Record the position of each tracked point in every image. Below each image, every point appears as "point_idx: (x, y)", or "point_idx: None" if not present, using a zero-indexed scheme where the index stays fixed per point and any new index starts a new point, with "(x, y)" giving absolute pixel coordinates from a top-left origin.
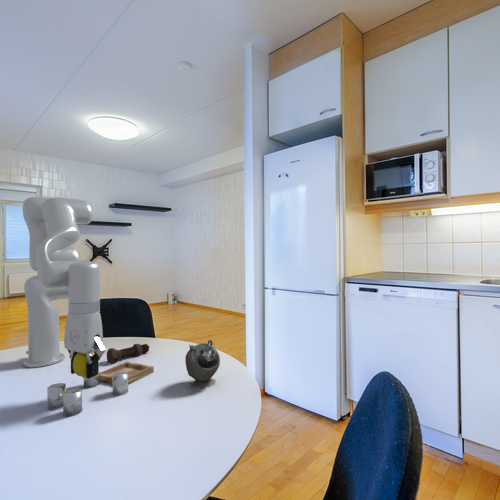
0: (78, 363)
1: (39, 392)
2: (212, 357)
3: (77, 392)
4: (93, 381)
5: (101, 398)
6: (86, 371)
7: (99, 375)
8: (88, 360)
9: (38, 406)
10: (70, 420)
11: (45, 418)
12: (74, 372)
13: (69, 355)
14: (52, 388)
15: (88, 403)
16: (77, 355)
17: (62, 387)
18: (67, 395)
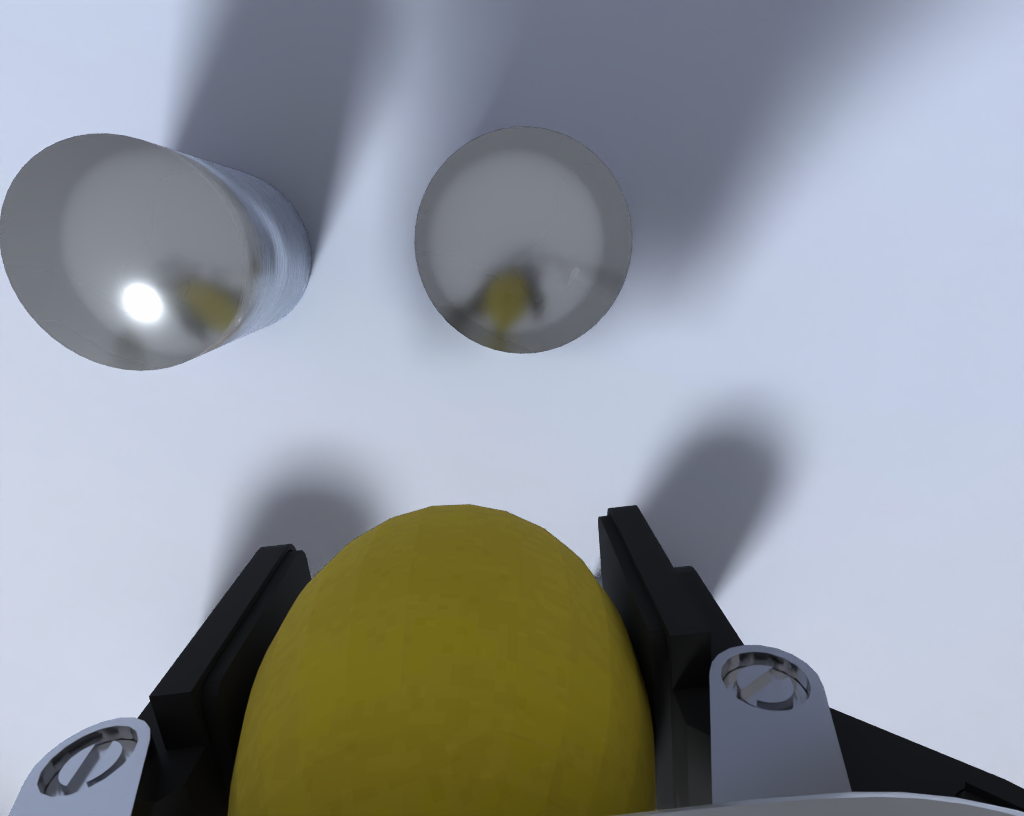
0: (339, 612)
1: (946, 302)
2: None
3: (39, 282)
4: None
5: (287, 531)
6: (250, 595)
7: None
8: (113, 771)
9: (657, 143)
10: None
11: (333, 46)
12: (603, 540)
13: (822, 691)
14: (502, 176)
15: (290, 421)
16: (424, 760)
17: (420, 271)
18: (54, 157)
